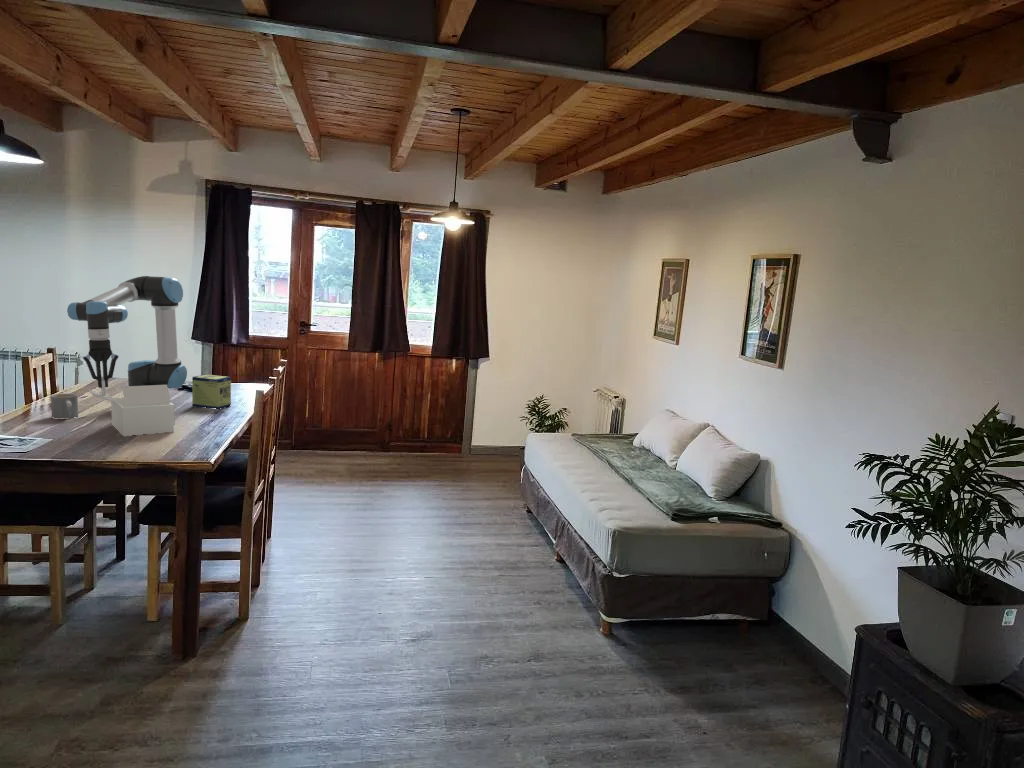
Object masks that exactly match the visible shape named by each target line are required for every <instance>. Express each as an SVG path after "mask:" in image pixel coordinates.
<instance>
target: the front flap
mask: <svg viewBox="0 0 1024 768" xmlns="http://www.w3.org/2000/svg"><path fill="white" fill-rule="evenodd" d="M121 388H122V393H123V394H122V395H123V398H124V400H125V405H126V406H129V405H145V404H162V403H172V401H171V397H170V392H169V388H168V387H167V385H148V386H128V385H127V386H122V387H121Z"/></svg>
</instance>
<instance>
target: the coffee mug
mask: <svg viewBox="0 0 1024 768" xmlns="http://www.w3.org/2000/svg"><path fill="white" fill-rule="evenodd" d="M78 399H79V398H78V394H77V393H76V394H75V393H56V394H52V395H50V404H51V405H50V406H51V409H50V410H51V418H52V417H54V418H74V417H77V418H78V417H79V404H78V403H79V401H78ZM74 419H75V418H74Z"/></svg>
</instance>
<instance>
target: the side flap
mask: <svg viewBox="0 0 1024 768" xmlns="http://www.w3.org/2000/svg"><path fill="white" fill-rule="evenodd" d="M88 393H90V394H91V395H92V396H93V397H94V398H95V397H96V398H99V399H102V400H105V401H109V402H114V403H118V402H117V401H116V400H114V399H113V398H114V397H112V396H110V395H107V394H106V396H103V395H102V393H99V392H98V391H93V390H91V389H89V390H88Z"/></svg>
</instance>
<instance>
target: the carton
mask: <svg viewBox="0 0 1024 768" xmlns="http://www.w3.org/2000/svg"><path fill="white" fill-rule="evenodd" d="M112 398H113V399H114V400H116V401H117V402H118V403H114V402H111V401H110V402H111V426H112V425H113V426H114V427H115V428H116V429H117V430H118V431H119V432H120V433H121V434H122V435H123V436H124V437H132V435H136V436H144V435H143V434H147V435H156V434H155V433H159V434H165V433H164V432H170V433H174V432H175V423H176V419H175V417H176V416H175V411H176V409H175V404H174V403H173V402H171V403H162V404H145V405H129V406H126V405H125V400H124V397H112ZM113 426H112V427H113ZM114 427H113V428H114ZM115 428H114V429H115ZM116 429H115V430H116ZM117 430H116V431H117ZM118 431H117V432H118ZM119 432H118V433H119ZM120 433H119V434H120ZM121 434H120V435H121ZM122 435H121V436H122ZM123 436H122V437H123Z"/></svg>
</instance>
